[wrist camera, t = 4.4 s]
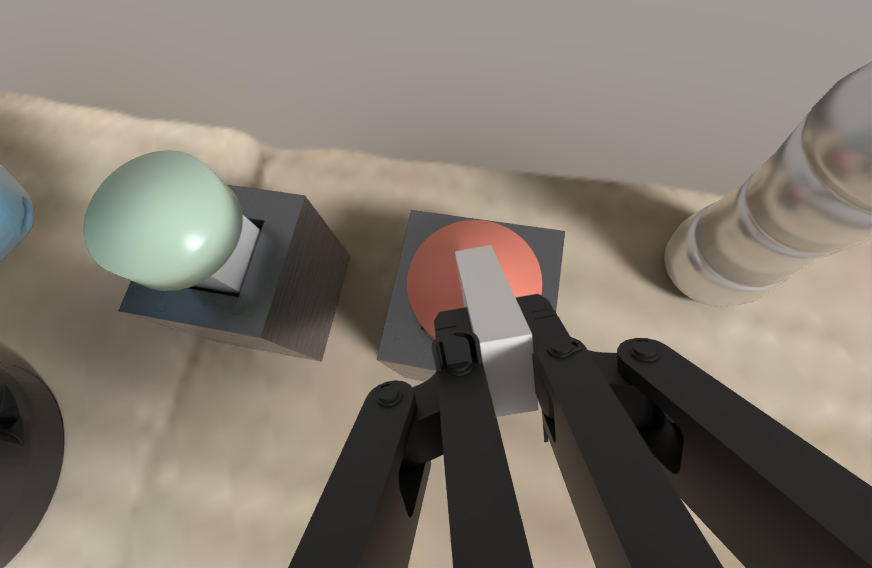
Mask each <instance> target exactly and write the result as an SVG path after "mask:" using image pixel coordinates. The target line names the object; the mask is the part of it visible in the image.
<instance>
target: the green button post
mask: <svg viewBox="0 0 872 568" xmlns="http://www.w3.org/2000/svg"><path fill="white" fill-rule="evenodd" d="M227 186H228V187H229V188H230V189H231V190H232V191H233V192H234V194H235V195H236V196H237V198H238V200H239V202H240V205H241V209H242V214H243V215H244V216H245V217H246V218H247V219H248V220H249V221H251V222H252V223H253V224H254V225H255V226H256V227H257V228H258V229H259V230H261V233H260V236H259V239H258V242H257V245H256V248H255V251H254V254H253V257H252V260H251V263H250V266H249V269H248V271H247V274H246V277H245V280H244V283H243V286H242V289H241V292H240V295H239V297H233V296H227V295H222V294H216V293H210V292H205V291H199V290H196V289H194V288H192V287H189V288H185V289H181V290H175V291H161V290H155V289H151V288H148V287H146V286H143V285H141V284H139V283H136V282H134V281H131V282H130V285H129V287H128V289H127V292H126V294H125V296H124V299H123V301H122V304H121V306H120V308H119V312H123V313H126V314H129V315H132V316H136V317H139V318H142V319H145V320H149V321H152V322H155V323H158V324H162V325H165V326H168V327H171V328H175V329H178V330H181V331H184V332H188V333H191V334H194V335H198V336H201V337H204V338H207V339H211V340H214V341H217V342H222V343H227V344H233V345H238V346H243V347H248V348H254V349H259V350H264V351H269V352H274V353H280V354H285V355H290V356H295V357H301V358H306V359H311V360H316V361H321V362H322V358H323V354H324V351H325V347H326V343H327V339H328V336H329V332H330V328H331V324H332V321H333V317H334V313H335V310H336V306H337V302H338V298H339V295H340V291H341V287H342V283H343V280H344V276H345V272H346V268H347V265H348V261H349V257H350V255H349V254H348V253H347V251H346V250H345V248H344V247H343V246H342V244H341V243H340V242H339V240H338V239H337V238H336V236H335V235H334V234H333V232H332V231H331V230H330V228H329V227H328V226H327V224H326V223H325V222H324V220H323V219H322V218H321V216H320V215H319V214H318V212H317V211H316V210H315V208H314V207H313V206H312V204H311V203H310V201H309V200H308V199H307V197H306V196H305V195H298V194H290V193H283V192H276V191H268V190H261V189H254V188H246V187H239V186H232V185H227Z"/></svg>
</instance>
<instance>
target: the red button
mask: <svg viewBox="0 0 872 568" xmlns="http://www.w3.org/2000/svg"><path fill="white" fill-rule="evenodd" d="M488 245H491V246H492V248H493V250H494V252H495V254H496V257H497V259H498V261H499V263H500V265H501V268H502V270H503V272H504V274H505V276H506V278H507V281H508V283H509V285H510V287H511V289H512V292H513V294H514V296H515V298H516V297H521V296H527V295H533V294H540V295H541V294H542V274H541V270H540V266H539V263H538V260H537V258H536V256H535V254H534V253H533V251H532V249H531V248H530V247H529V245H528V244H527V243H526V242H525V241H524V240H523V239H522V238H521V237H520V236H519V235H517V234H516V233H515V232H513V231H512V230H510V229H509V228H506V227H504V226H502V225H500V224H497V223H494V222H489V221H484V220H466V221H460V222H456V223H452V224H450V225H447V226H445V227H443V228H441V229H439V230H437V231H436V232H434V233H433V234H432V235H430V236H429V237H428V238H427V239H426V240H425V241H424V242H423V243H422V245H421V246H420V247H419V248H418V250H417V252H416V253H415V255H414V257H413V259H412V261H411V264H410V267H409V271H408V277H407V290H408V297H409V300H410V304H411V306H412V309H413V311H414V313H415V315H416V317H417V319H418V320H419V322H420V324H421V326H422V327H423V329H424V330H425V331H426V333H427V334H428V335H429V336H430V337H431V338H432V339H433V340H435V339H436V337H435V326H434V320H435V318H436V316H437V315H438V313H439V312H441V311H447V310H453V309H458V308H464V304H463V298H462V291H461V285H460V279H459V273H458V267H457V261H456V255H455V251H460V250H466V249H471V248H477V247H483V246H488Z"/></svg>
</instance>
